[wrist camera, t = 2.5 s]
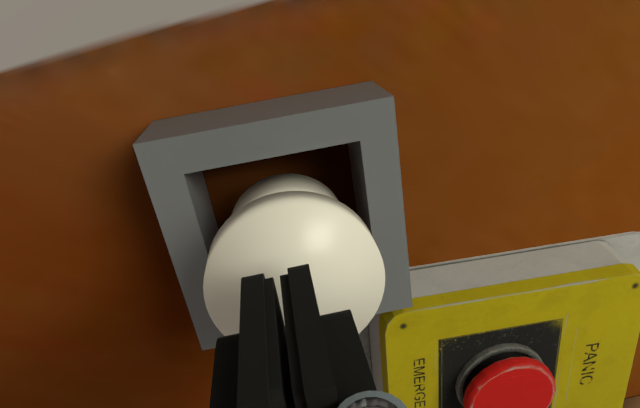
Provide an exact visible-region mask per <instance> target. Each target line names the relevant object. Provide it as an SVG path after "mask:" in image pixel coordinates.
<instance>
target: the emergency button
mask: <svg viewBox="0 0 640 408" xmlns="http://www.w3.org/2000/svg"><path fill="white" fill-rule="evenodd" d="M409 271H410V282H411V294H412V305H413V307H409V308H404V309H400V310H395V311H390V312H385V313H380V314H376V315H374V317H373V318H372V320H371V321H370V322H369V324H368V325H367V326H366V327H365V328H364V329H363V330H362V331H361V332H360V333H359V337H360V340H361V343H362V346H363V349H364V352H365V355H366V358H367V362H368V365H369V368H370V371H371V374H372V377H373V380H374V383H375V386H376V389H377V391H382V392H386V393H389V394H392V395H393V396H395V397H397V398H398V399H400V400H401V401H402V402H403V403H404V404H405V406H406V407H407V408H622V407H623V403H624V399H625V394H626V390H627V385H628V381H629V376H630V372H631V367H632V363H633V359H634V354H635V350H636V345H637V341H638V336H639V332H640V232H626V233H620V234H614V235H607V236H601V237H595V238H589V239H583V240H576V241H570V242H564V243H558V244H551V245H545V246H539V247H533V248H526V249H520V250H514V251H508V252H501V253H495V254H489V255H483V256H477V257H470V258H464V259H458V260H452V261H445V262H439V263H433V264H427V265H420V266H414V267H409Z"/></svg>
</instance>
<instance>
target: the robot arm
mask: <svg viewBox="0 0 640 408" xmlns="http://www.w3.org/2000/svg"><path fill="white" fill-rule="evenodd" d="M287 271H288V274H285V275H281V276H280V284H281V293H282V303H283V312H284V320H283V316H282V312H281V308H280V303H279V299H278V295H277V291H276V286H275V282H274V279H273V277H271V278H266V279H265V276H264V274H263V273H262V274H257V275H252V276H247V277H242V278H241V293H240V323H239V333H237V334H233V335H228V336H223V337H219V338H218V339H217V341H216V348H215V358H214V368H213V378H212V388H211V398H210V408H407V407H406V406H405V404H404V403H403V402H402V401H401V400H400V399H398V398H397V397H395V396H393V395H392V394H389V393H386V392H382V391H377V389H376V386H375V383H374V380H373V377H372V374H371V371H370V368H369V365H368V362H367V358H366V355H365V352H364V349H363V346H362V343H361V340H360V337H359V334H358V331H357V328H356V325H355V322H354V319H353V315H352V313H351V310H350V309H348V310H344V311H339V312H334V313H330V314H325V315H321V316H320V313H319V309H318V304H317V300H316V295H315V291H314V286H313V282H312V277H311V273H310V268H309V264H305V265H300V266H295V267H290V268H287ZM284 321H285V325H284Z"/></svg>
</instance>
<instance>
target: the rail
mask: <svg viewBox="0 0 640 408" xmlns="http://www.w3.org/2000/svg"><path fill="white" fill-rule="evenodd" d="M622 408H640V396H636V397H631V398H627V399H624V403H623V407H622Z"/></svg>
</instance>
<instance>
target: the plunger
mask: <svg viewBox="0 0 640 408" xmlns="http://www.w3.org/2000/svg"><path fill="white" fill-rule="evenodd" d="M305 264H309V268H310V273H311V277H312V282H313V286H314V291H315V295H316V300H317V304H318V309H319V313H320V316H321V315H325V314H330V313H334V312H339V311H344V310H348V309H350V310H351V313H352V315H353V319H354V322H355V325H356V328H357V331H358V334H359V333H360V332H361V331H362V330H363V329H364V328H365V327H366V326H367V325H368V324H369V322H370V321H371V320H372V318H373V317H374V315H375V313H376V312H377V310H378V308H379V305H380V303H381V301H382V297H383V293H384V288H385V268H384V263H383V259H382V257H381V254H380V251H379V249H378V247H377V245H376V243H375V241H374V239H373V237H372V235H371V233H370V231H369V229H368V227H367V226H366V224H365V223H364V222H363V220H362V219H361V218H360V217H359V216H358V215H357V214H356V213H355V212H354V211H353V210H352V209H350V208H349V207H348V206H346V205H345V204H343V203H341V202H340V201H338V199H337V197H336V196H335V195H334V193H333V192H332V191H331V190H330V189H329V188H328V187H327V186H325V185H324V184H323V183H321V182H320V181H318V180H316V179H314V178H311V177H309V176H305V175H301V174H293V173H285V174H277V175H273V176H269V177H267V178H264V179H262V180H260V181H258V182H256V183H255V184H253V185H252V186H250V187H249V188H248V189H247V190H246V191H245V192H244V193H243V194H242V195H241V197H240V198H239V199H238V201H237V202H236V204H235V206H234V209H233V211H232V215H231V216H230V217H229V218H228V219H227V220H226V221H225V223H224V224H223V225H222V226H221V227H220V229H219V230H218V232H217V234H216V235H215V237H214V239H213V242H212V244H211V246H210V250H209V254H208V258H207V263H206V268H205V274H204V281H203V294H204V300H205V305H206V308H207V311H208V313H209V316H210V318H211V319H212V321H213V323H214V324H215V326H216V327H217V328H218V329H219V331H220V332H221V333H222V334H223V335H224V336H228V335H233V334H237V333H239V323H240V293H241V278H242V277H247V276H252V275H257V274H262V273H263V274H264V276H265V279H266V278H271V277H273V279H274V282H275V286H276V291H277V295H278V299H279V303H280V308H281V312H282V316H283V320H284V312H283V303H282V293H281V284H280V276H281V275H285V274H288V271H287V268H290V267H295V266H300V265H305ZM284 325H285V321H284Z"/></svg>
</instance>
